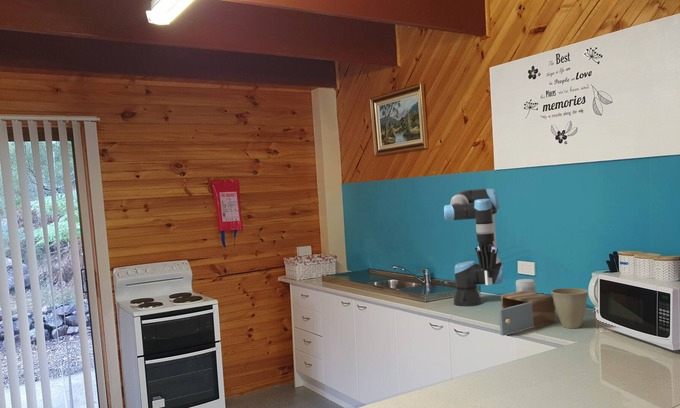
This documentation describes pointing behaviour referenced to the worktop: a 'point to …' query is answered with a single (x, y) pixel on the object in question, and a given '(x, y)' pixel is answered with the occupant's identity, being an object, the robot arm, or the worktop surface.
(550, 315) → the cabinet
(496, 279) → the robot arm
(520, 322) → the cabinet door
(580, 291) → the plant pot
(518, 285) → the supplement tub
